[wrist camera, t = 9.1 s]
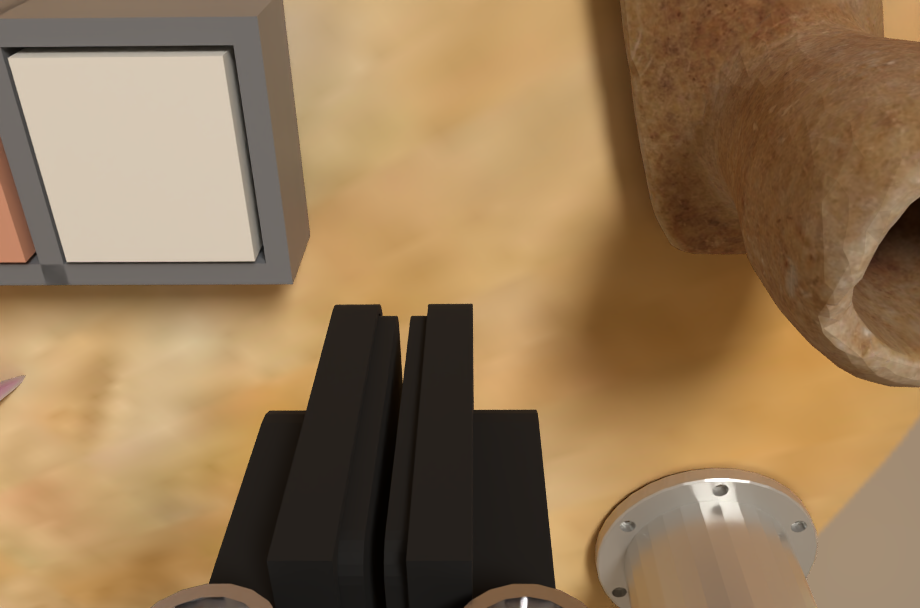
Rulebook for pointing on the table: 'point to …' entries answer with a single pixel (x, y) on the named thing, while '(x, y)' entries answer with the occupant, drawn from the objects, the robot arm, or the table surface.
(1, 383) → the lily
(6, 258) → the key terracotta
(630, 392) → the table surface
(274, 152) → the key console
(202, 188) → the key white
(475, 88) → the table surface
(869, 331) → the brown boot
